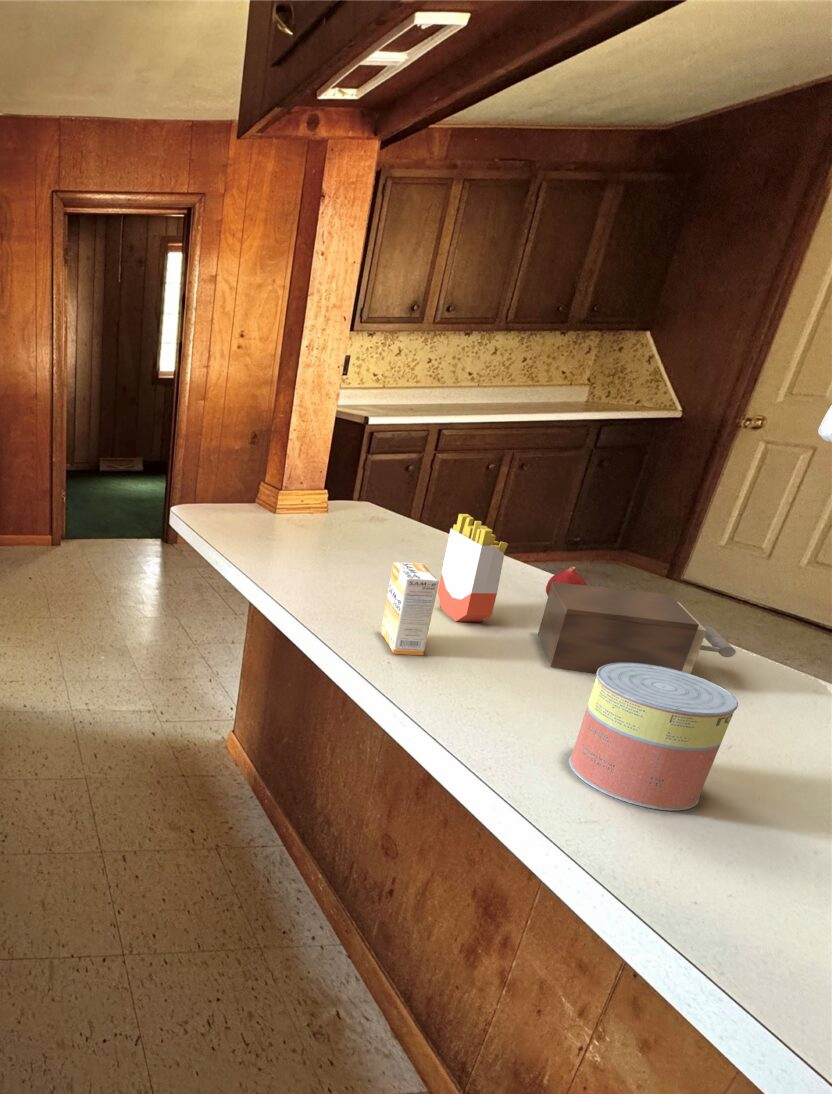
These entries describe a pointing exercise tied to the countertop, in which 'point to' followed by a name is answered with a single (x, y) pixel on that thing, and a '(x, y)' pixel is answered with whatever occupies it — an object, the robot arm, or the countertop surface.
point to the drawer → (713, 638)
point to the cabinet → (613, 628)
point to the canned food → (651, 734)
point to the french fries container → (470, 571)
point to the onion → (566, 578)
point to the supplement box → (409, 608)
